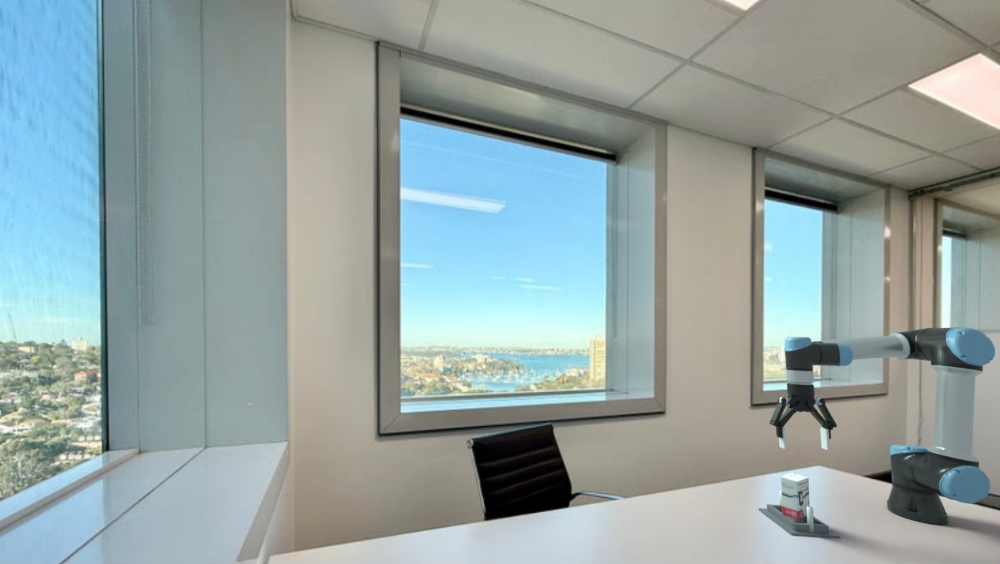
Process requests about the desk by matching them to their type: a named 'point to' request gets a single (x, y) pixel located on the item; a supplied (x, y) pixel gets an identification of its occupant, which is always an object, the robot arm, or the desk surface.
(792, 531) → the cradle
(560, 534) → the desk surface
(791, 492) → the ink box
